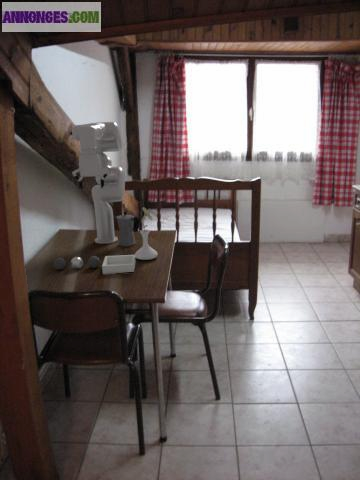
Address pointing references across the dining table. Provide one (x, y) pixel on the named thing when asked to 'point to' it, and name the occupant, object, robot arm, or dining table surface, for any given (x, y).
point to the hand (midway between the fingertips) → (92, 188)
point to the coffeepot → (127, 229)
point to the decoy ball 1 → (59, 263)
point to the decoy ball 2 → (94, 261)
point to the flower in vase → (145, 243)
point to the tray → (118, 264)
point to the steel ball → (76, 262)
